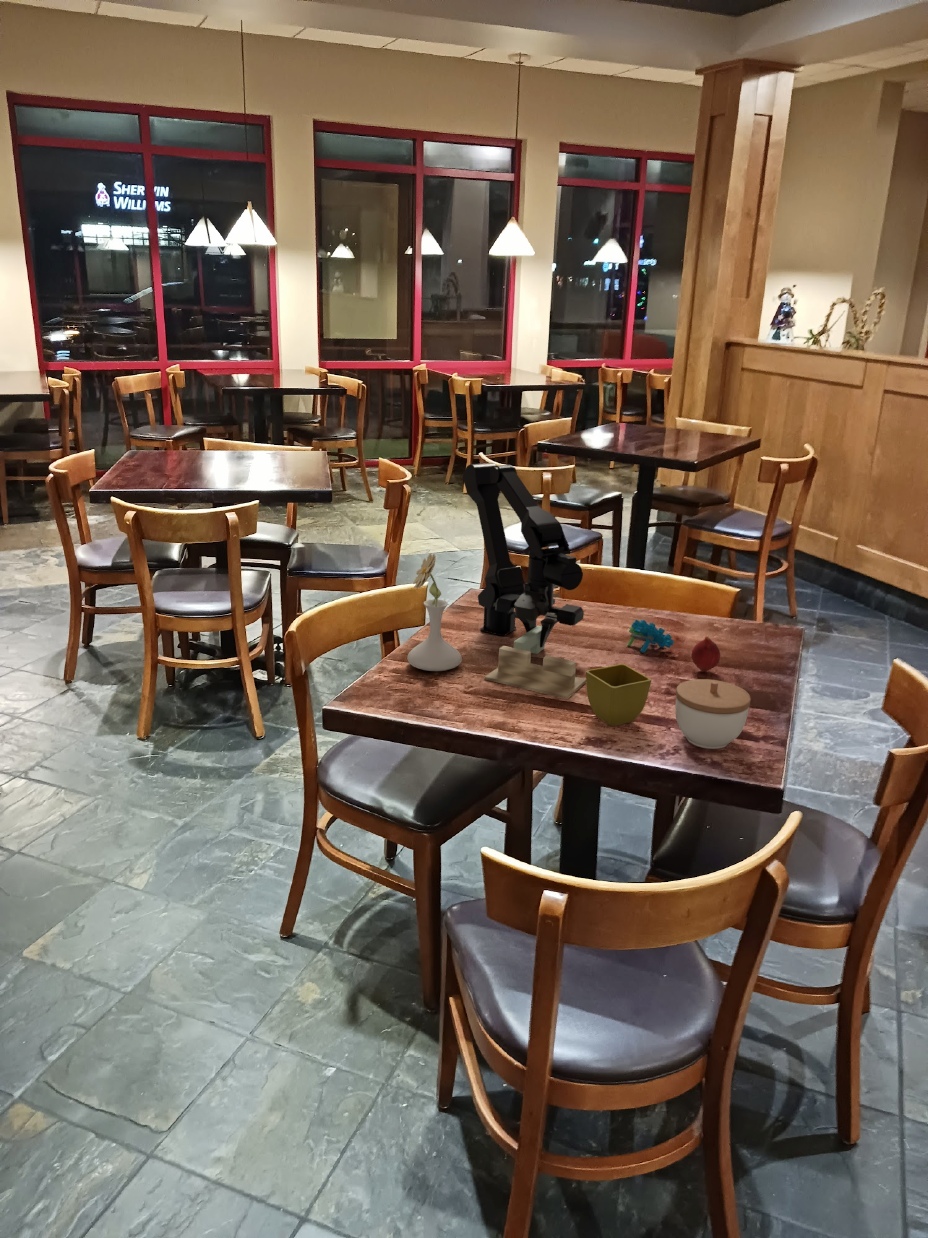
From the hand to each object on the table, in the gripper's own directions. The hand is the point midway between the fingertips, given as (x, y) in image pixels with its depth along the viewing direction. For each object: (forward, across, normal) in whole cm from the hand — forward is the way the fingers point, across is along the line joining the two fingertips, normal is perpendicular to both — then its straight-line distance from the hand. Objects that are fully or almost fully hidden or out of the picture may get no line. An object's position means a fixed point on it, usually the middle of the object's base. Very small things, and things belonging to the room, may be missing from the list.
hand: (536, 645), depth 202 cm
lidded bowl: (+1, +44, -24) cm, 50 cm away
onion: (+1, +35, +8) cm, 36 cm away
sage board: (+1, 0, -4) cm, 4 cm away
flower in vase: (+1, -14, -21) cm, 25 cm away
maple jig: (+1, +7, -16) cm, 17 cm away
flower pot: (+1, +27, -25) cm, 37 cm away
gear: (+1, +21, +15) cm, 26 cm away
